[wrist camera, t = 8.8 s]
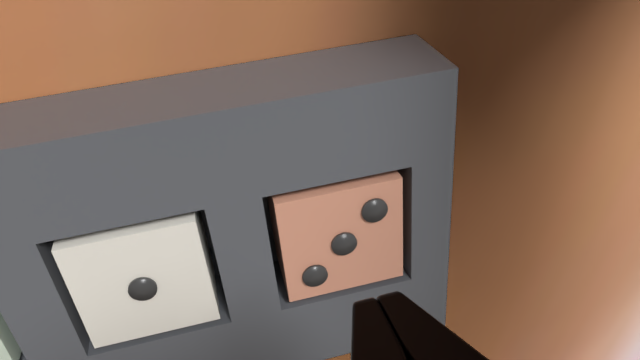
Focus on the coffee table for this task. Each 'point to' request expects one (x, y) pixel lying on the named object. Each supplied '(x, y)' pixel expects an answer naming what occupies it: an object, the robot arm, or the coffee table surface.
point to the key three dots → (339, 234)
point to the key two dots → (8, 343)
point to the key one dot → (140, 278)
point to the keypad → (227, 190)
